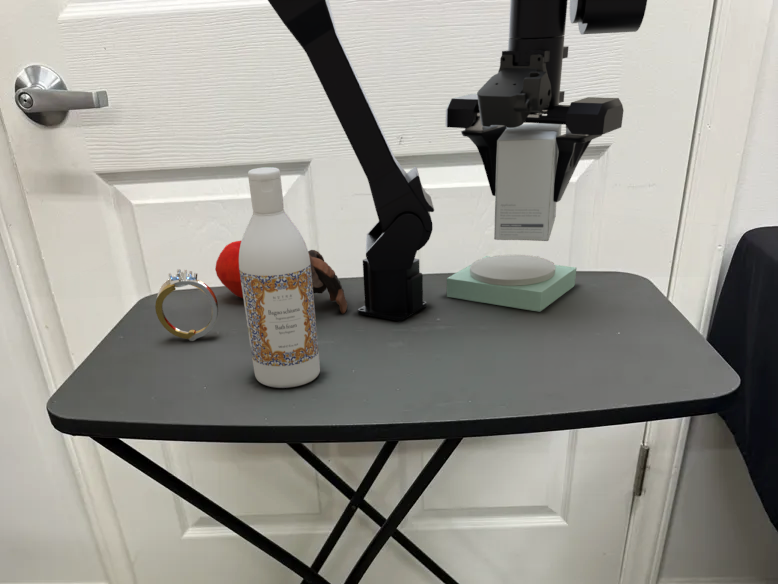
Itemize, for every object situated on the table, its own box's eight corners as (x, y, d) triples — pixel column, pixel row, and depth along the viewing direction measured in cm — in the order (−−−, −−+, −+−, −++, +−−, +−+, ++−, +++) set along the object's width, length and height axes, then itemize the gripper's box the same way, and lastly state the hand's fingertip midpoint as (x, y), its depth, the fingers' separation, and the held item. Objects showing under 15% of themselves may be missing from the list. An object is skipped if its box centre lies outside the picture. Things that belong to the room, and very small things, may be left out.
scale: (445, 296, 100) (446, 271, 98) (485, 273, 107) (485, 249, 105) (540, 312, 94) (542, 285, 92) (574, 286, 101) (577, 261, 99)
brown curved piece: (350, 325, 94) (312, 272, 89) (288, 355, 98) (248, 306, 93) (357, 271, 102) (322, 219, 97) (299, 301, 106) (262, 252, 101)
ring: (224, 333, 93) (212, 265, 88) (220, 342, 90) (208, 273, 86) (166, 336, 93) (152, 269, 88) (161, 346, 90) (146, 277, 86)
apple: (213, 307, 101) (203, 248, 97) (232, 287, 107) (223, 232, 103) (272, 307, 100) (264, 248, 95) (287, 288, 106) (281, 231, 102)
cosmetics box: (502, 217, 96) (507, 122, 89) (555, 218, 94) (564, 121, 88) (490, 240, 87) (495, 137, 81) (548, 242, 86) (557, 137, 80)
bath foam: (258, 393, 78) (228, 180, 67) (252, 367, 84) (222, 167, 72) (325, 384, 79) (307, 173, 68) (314, 359, 85) (295, 160, 73)
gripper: (418, 44, 79) (419, 205, 88) (590, 42, 70) (572, 222, 79) (472, 36, 87) (468, 186, 96) (635, 33, 77) (613, 200, 86)
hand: (525, 198), depth 89 cm, fingers closed on cosmetics box, 7 cm apart
